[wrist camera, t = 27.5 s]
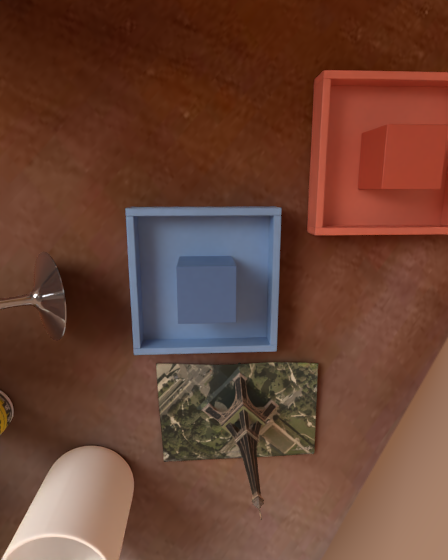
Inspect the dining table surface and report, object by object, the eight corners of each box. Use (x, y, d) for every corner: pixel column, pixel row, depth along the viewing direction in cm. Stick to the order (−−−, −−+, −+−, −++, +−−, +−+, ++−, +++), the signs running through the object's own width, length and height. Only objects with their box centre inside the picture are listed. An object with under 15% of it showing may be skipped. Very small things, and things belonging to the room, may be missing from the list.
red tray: (314, 79, 31) (323, 69, 29) (461, 81, 32) (482, 72, 29) (306, 232, 34) (315, 235, 31) (442, 231, 34) (460, 234, 32)
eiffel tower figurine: (161, 459, 38) (142, 599, 25) (155, 363, 36) (131, 462, 23) (313, 451, 39) (370, 582, 26) (316, 356, 37) (381, 448, 24)
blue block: (179, 256, 33) (176, 266, 29) (231, 255, 33) (236, 265, 29) (180, 306, 34) (177, 324, 30) (231, 305, 34) (236, 322, 30)
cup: (128, 437, 37) (102, 526, 27) (147, 538, 40) (130, 653, 30) (40, 448, 37) (-17, 543, 27) (66, 550, 40) (22, 669, 30)
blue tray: (130, 206, 32) (125, 208, 30) (275, 206, 33) (281, 207, 31) (138, 343, 35) (133, 355, 33) (271, 340, 36) (277, 351, 33)
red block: (361, 132, 32) (387, 123, 27) (414, 133, 32) (448, 124, 28) (357, 189, 33) (381, 189, 28) (409, 189, 33) (441, 189, 29)
